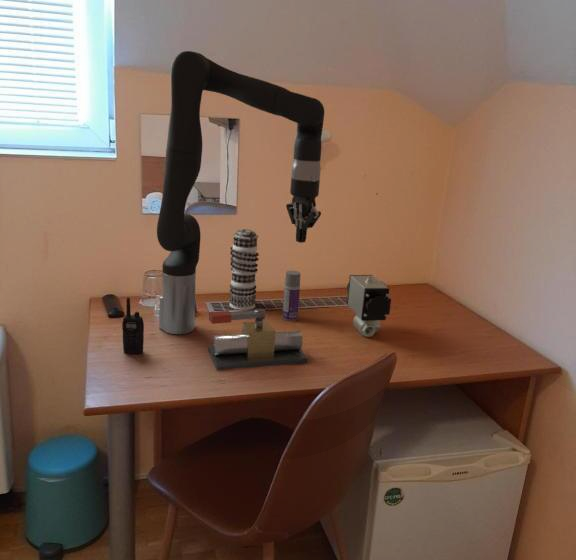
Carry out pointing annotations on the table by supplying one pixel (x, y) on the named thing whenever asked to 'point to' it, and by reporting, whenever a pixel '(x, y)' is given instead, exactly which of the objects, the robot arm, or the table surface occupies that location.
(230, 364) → the valve board
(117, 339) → the table surface
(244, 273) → the black and white cylinder
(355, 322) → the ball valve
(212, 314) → the valve lever
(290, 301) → the container
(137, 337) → the two-way radio
